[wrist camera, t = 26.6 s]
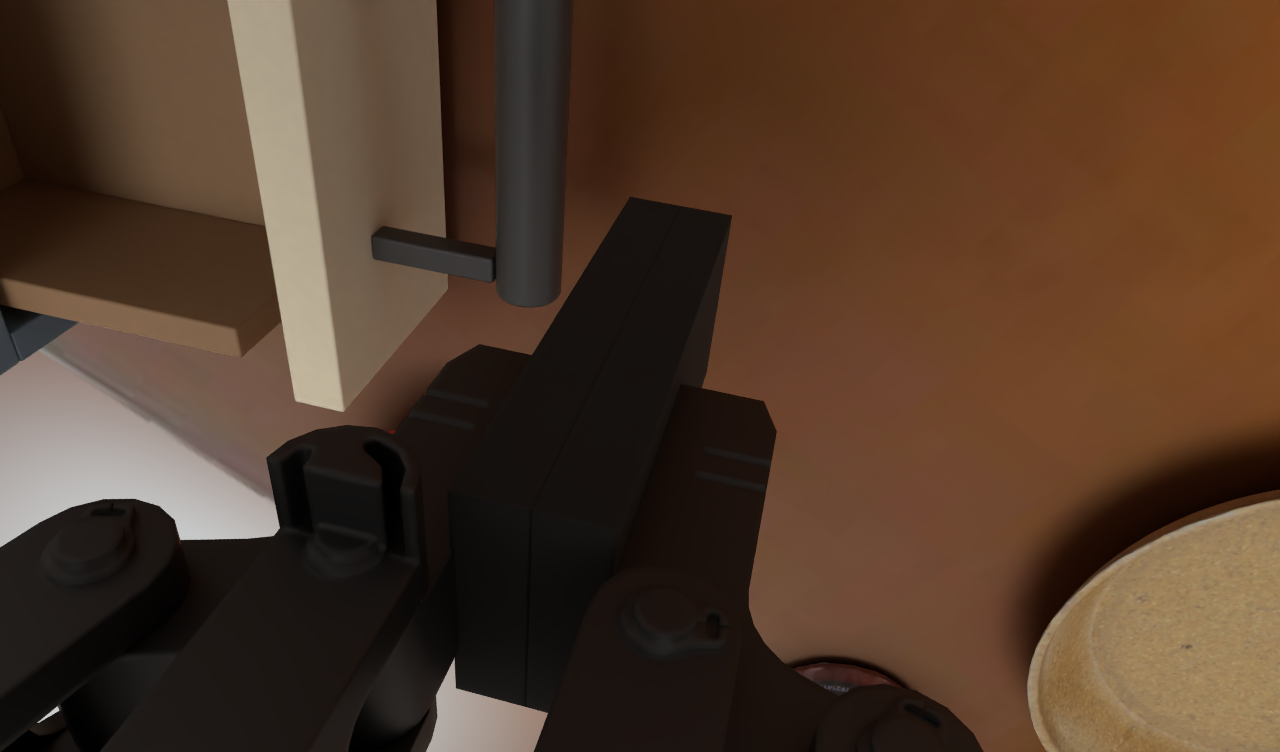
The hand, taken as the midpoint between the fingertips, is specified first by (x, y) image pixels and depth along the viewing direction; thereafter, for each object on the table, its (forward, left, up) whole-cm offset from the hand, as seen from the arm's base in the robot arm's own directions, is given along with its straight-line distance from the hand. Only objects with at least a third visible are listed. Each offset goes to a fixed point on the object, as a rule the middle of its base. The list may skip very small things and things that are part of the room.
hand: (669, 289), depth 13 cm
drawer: (-7, -9, -8) cm, 14 cm away
